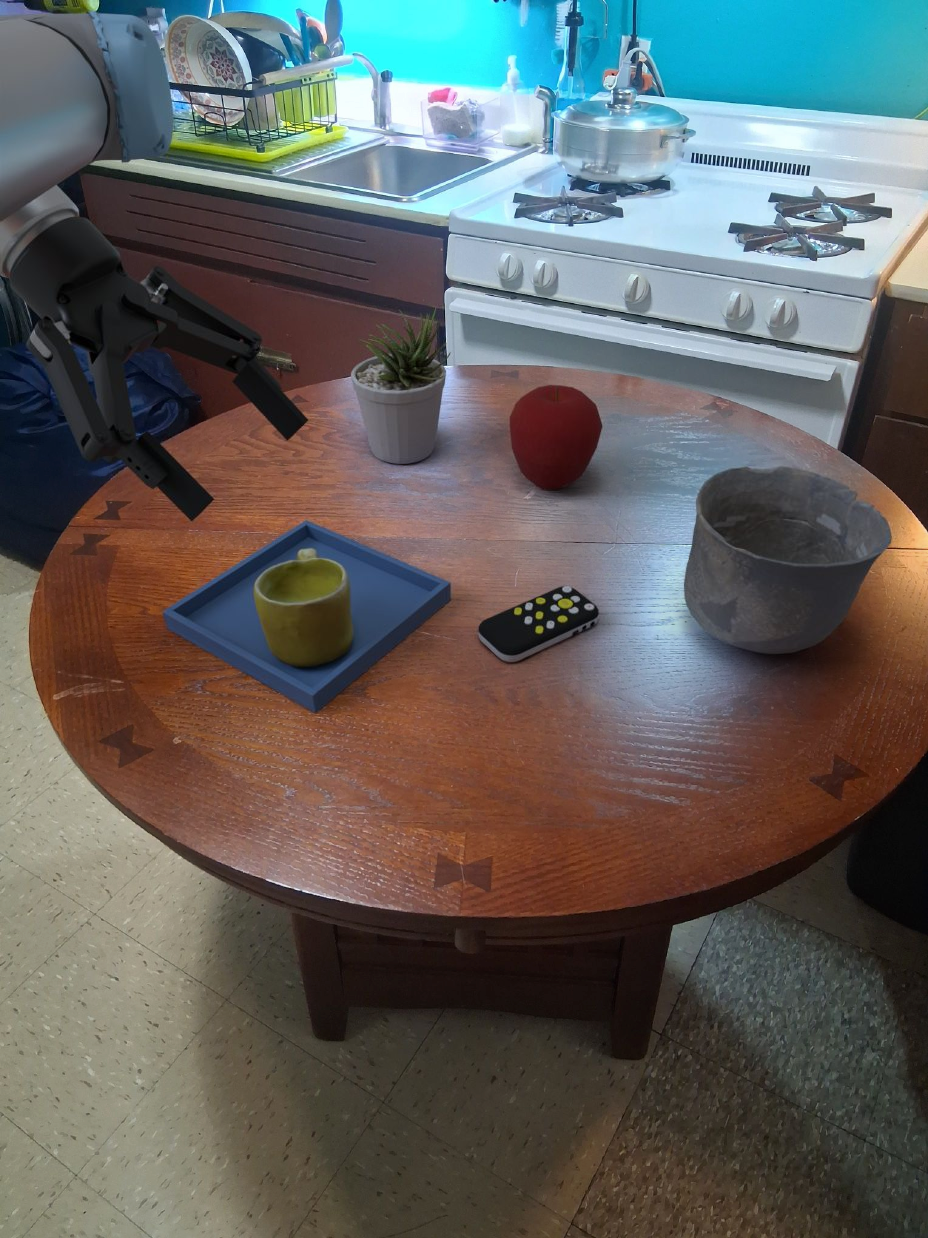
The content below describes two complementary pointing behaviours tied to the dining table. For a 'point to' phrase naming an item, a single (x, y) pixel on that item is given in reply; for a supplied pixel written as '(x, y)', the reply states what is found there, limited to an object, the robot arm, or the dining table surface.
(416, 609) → the blue tray
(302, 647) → the mug
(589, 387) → the dining table surface
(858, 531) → the grey stone bowl
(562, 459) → the apple
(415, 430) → the potted plant
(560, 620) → the remote control
